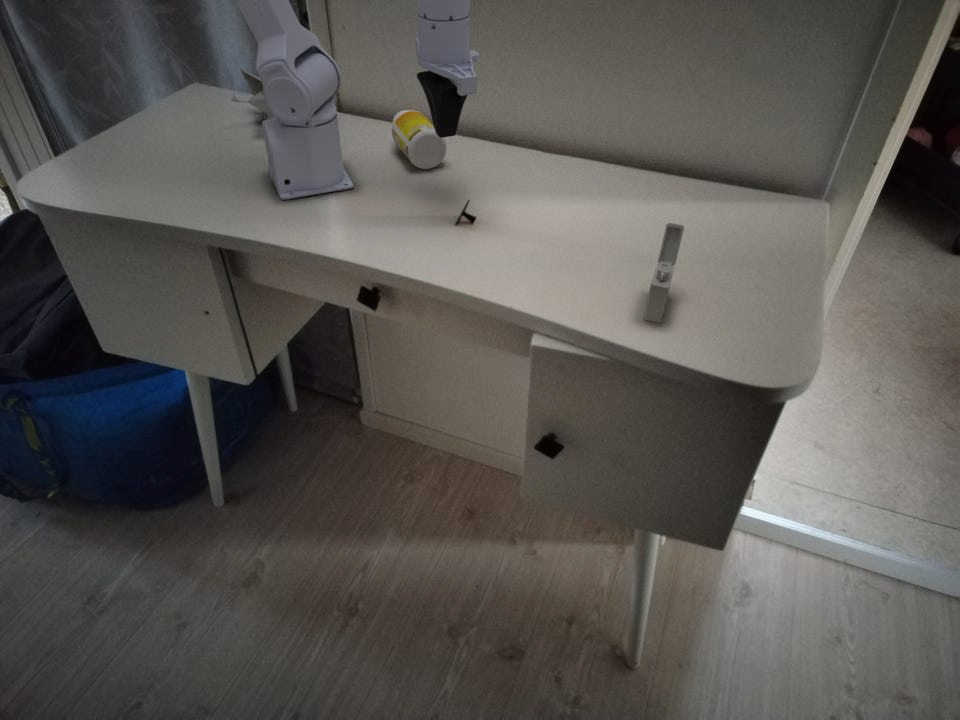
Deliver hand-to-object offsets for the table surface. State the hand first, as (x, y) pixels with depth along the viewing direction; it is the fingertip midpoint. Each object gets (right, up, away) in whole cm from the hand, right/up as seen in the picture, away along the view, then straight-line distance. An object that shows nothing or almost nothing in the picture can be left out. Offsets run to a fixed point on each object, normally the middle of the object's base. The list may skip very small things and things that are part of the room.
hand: (445, 134), depth 86 cm
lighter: (+23, -21, -11) cm, 33 cm away
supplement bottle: (-3, +1, +9) cm, 10 cm away
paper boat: (-29, +10, +24) cm, 39 cm away
